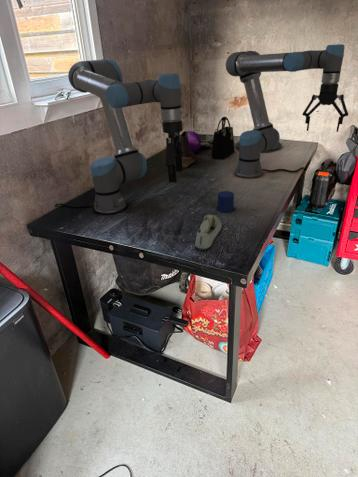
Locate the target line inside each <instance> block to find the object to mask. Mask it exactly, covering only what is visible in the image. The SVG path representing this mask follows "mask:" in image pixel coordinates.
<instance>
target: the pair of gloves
mask: <svg viewBox="0 0 358 477" xmlns="http://www.w3.org/2000/svg"><path fill="white" fill-rule="evenodd" d="M213 138H214V134H212V135H209V134H206V135H205V140H201V145H200V148H199V149H202V148H203V149H204V148H210V149H212V147H213V145H211V144H213Z"/></svg>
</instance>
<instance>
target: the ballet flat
mask: <svg viewBox="0 0 358 477" xmlns="http://www.w3.org/2000/svg"><path fill="white" fill-rule="evenodd" d="M222 227H223V224H222V221H221V219H220V218H219V217H217V216H216V215H215V214H206V215H204V218H203V220H202V222H201V224H200V226H199V229H198V230H197V232H196V237H195V241H194V246H195V247H196V249H197V250H199V251H207V250H208V249H209V248H210V247H211V246H212V245H213V242H214V240H215V239H216V238H217V235H218V234H219V232H220V231H221V230H222Z"/></svg>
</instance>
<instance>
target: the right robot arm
mask: <svg viewBox="0 0 358 477" xmlns="http://www.w3.org/2000/svg"><path fill="white" fill-rule="evenodd" d="M345 49H346V48H345V45H344V44H343V43H342V44H341V43H339V44H338V43H337V44H327V46H326V48H325V49H323V50H321V49H320V50H319V49H318V50H317V49H316V50H310V49H309V50H304V51H292V52H279V53H264V54H260V53H259V52H258V51H255V50H247V51H246V50H244V51H235V52H232V53H231V54H229V55H228V57H227V58H226V61H225V70H226V72H227V73H228V75H230V76H231V77H239V82H240V83H242V84H243V85H244V89H245V94H246V98H247V101H248V106H249V110H250V115H251V119H252V123H253V129H250V130H246V131H243V132H242V133H241V134H240V135H239V141H238V142H239V150H238V162H237V165H236V167H235V170H234V174H235V176H236V177H239V178H243V179H255V178H259V177H261V176H262V175H263V171H264V172H269V173H275V172H278V171H284V172H287V173H298V172H299V171H301V170H304V171H307V170H308V169H307V168H306V167H304V166H301V167H300V168H297V169H296V170H295V169H294V170H289V169H286V168H277V169H276V168H275V169H272V170H271V169H265V168H262V165H261V154H262V152H264V153H266V152H265V151H268V150H271V149H273V148H275V147H276V146H277V144H278V143H279V142H280V139H281V136H280V132H279V130H278V129H276V128H274V124H273V123H272V122H270V118H269V114H268V110H267V105H266V101H265V97H264V93H263V88H262V84H261V83H262V82H261V79H260V78H261V75H262V73H275V72H278V73H279V72H290V73H296V72H300V71H307V70H322V74H321V84H320V88H319V94H317V95H316V94H312V95H311V99H310V101H309V103H308V104H307V106H306V107H305V108H304V110H303V112H302V116H303V117H305V121H304V123H305V125H306V132H309V129H310V123H311V115H312V114H313V113H314V112H315V111H316V110H317V108H319V107H320V106H331V105H332V106H333V107H334V110H335V111H337V113H338V115H339V116H338V119H337V126H336V133H339V130H340V125H343V122H344V118H345V117H348V116H349V111H348V108H347V106H346V102H345V100H344V99H345V95H344V94H338V90H339V82H340V79H341V78H340V77H341V72H342V66H343V62H344V61H343V60H344V57H345ZM317 99H318V102H317V103H316V104H315V105H314V106H313V107H312V108H311V106H312V105H313V103H314V101H316V100H317ZM337 99H338V100H339V101H340V103H341V107H342V109H343V112H344V113H343V112H342V110H341V109H340V107H339V105H338V104H337V103H336V100H337ZM310 108H311V109H310ZM309 109H310V110H309Z"/></svg>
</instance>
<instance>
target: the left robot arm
mask: <svg viewBox="0 0 358 477" xmlns="http://www.w3.org/2000/svg"><path fill="white" fill-rule="evenodd" d="M67 77H68V81H69V84H70V86H71V87H72V88H73V89H74V90H76V91H78V92H80V93H83V94H84V93H85V94H86V93H89V94H92V95H94V96H96V97H97V98H99V99H100V103H101V105H102V108H103V112H104V116H105V119H106V122H107V125H108V128H109V132H110V136H111V138H112V142H113V146H114V148H115V153H114V155H113V156H106V157H99V158H98V159H95V160H94V161H92V163H91V165H90V175H91V179H92V183H93V188H94V193H95V195H94V196H95V197H94V202H93V203H92V204H91V203H90V204H84V205H83V204H82V205H72V204H69V203H68V204H67V203H61V202H59V203H60V204H57V203H55V204H56V205H55V204H54V207H57V206H59V205H61V206H64V207H65V206H67V207H71V208H84V207H85V208H87V207H93V209H94V212H96V213H97V214H100V215H113V214H117V213H120V212H122V211H124V210H125V209H126V208H127V201H126V199H125V197H124V195H123V193H122V191H121V185H122V184H125V183H129V182H132V181H137V180H138V179H140V178H143V177H145V175H146V174H147V170H148V163H147V159H146V157H145V154H143V153H142V152H139V149H138V147H135V145H134V143H133V139H132V135H131V132H130V128H129V125H128V121H127V119H126V115H125V112H124V108H127V107H132V106H138V105H144V104H151V103H160V104H159V105H160V115H161V116H160V117H161V120H162V122H161V127H162V132H163V133H164V134H167V136H168V137H166V138H165V143H166V144H165V145H166V147H165V149H166V150H165V164H164V166H165V167H167V174H168V175H167V176H168V183H177V172H184V167H183V166H182V155H183V154H184V152H182V151H183V150H182V144H181V138H180V135H181V132H183V131H184V127H183V123H184V122H183V120H182V119H183V114H184V109H183V110H182V92H181V90H182V89H181V88H182V86H181V80H180V79H181V78H180V74H178V73H176V72H173V73H170V72H169V73H161V74H159V75H158V76H157V79H146V80H141V81H134V82H123V78H124V77H123V71H122V70H121V68H120V65H118V63H117V62H116V61H115V60H113V59H111V58H110V59H106V58H101V59H91V60H80V61H77V62H75V63H74V64H72V65H71V67H70V68H69V70H68V75H67Z"/></svg>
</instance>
